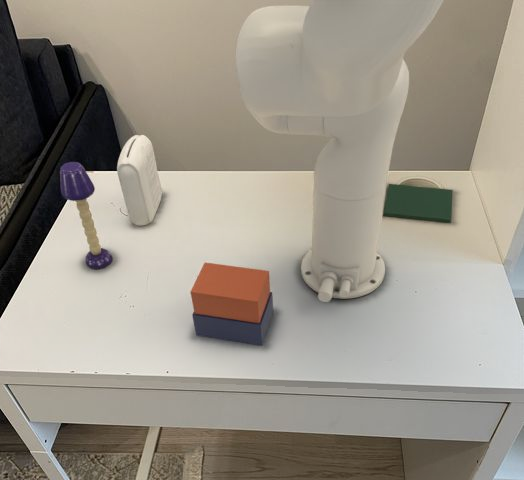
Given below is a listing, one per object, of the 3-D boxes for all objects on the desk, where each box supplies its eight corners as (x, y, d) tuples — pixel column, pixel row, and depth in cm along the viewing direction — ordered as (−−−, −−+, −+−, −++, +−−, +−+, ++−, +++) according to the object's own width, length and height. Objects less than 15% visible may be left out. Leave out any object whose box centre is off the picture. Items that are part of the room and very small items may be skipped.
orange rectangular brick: (259, 323, 71) (257, 301, 68) (194, 313, 73) (190, 291, 70) (270, 292, 75) (269, 270, 72) (208, 284, 77) (204, 262, 74)
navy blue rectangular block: (262, 345, 74) (260, 325, 71) (196, 335, 76) (192, 314, 73) (273, 312, 78) (272, 292, 75) (210, 303, 80) (207, 282, 77)
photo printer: (142, 192, 100) (126, 127, 91) (165, 193, 100) (151, 127, 90) (128, 226, 93) (109, 160, 84) (152, 227, 93) (136, 160, 84)
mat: (450, 222, 90) (451, 219, 90) (383, 215, 92) (383, 212, 92) (451, 192, 96) (452, 189, 95) (388, 186, 98) (388, 183, 97)
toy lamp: (111, 248, 90) (82, 154, 77) (120, 264, 87) (90, 169, 74) (83, 258, 88) (48, 163, 76) (90, 274, 85) (55, 179, 73)
